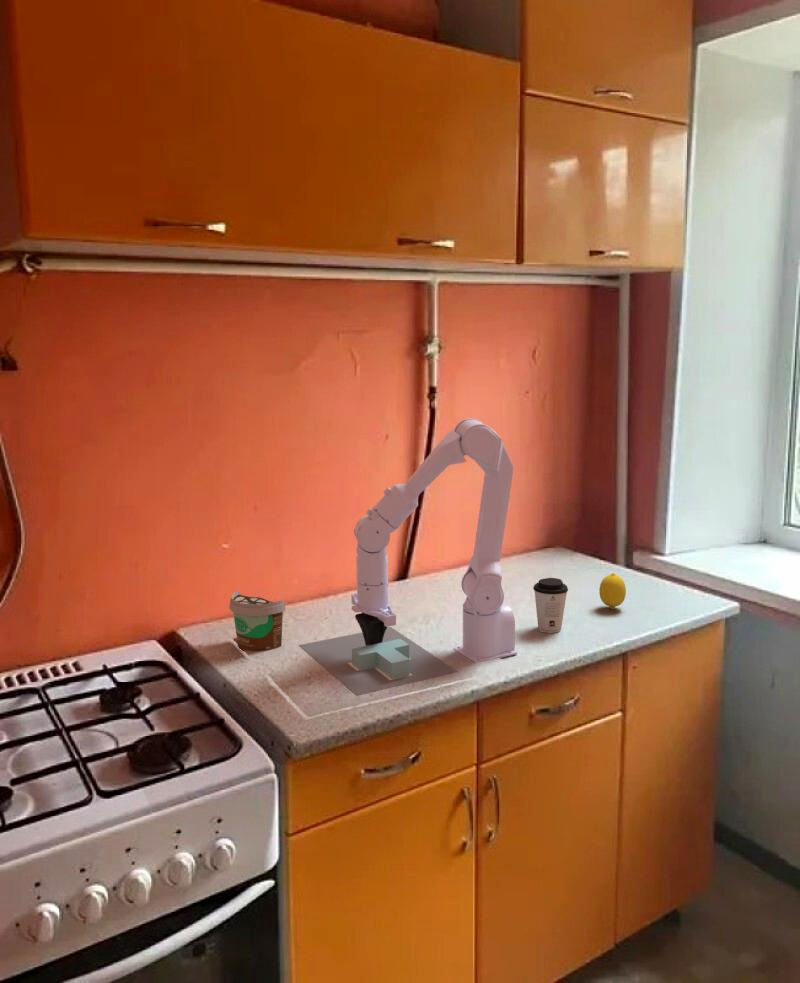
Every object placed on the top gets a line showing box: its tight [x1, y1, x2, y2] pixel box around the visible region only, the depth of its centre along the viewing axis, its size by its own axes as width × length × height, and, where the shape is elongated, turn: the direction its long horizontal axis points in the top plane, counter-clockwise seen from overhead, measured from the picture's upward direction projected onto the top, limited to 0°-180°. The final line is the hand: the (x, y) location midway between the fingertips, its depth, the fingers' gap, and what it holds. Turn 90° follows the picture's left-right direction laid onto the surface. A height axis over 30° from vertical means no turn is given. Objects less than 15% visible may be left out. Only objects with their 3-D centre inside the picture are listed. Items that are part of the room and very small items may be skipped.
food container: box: [228, 590, 286, 652], centre depth 170 cm, size 12×6×10 cm, turn 56°
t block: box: [352, 639, 410, 679], centre depth 160 cm, size 10×10×3 cm
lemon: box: [599, 572, 627, 610], centre depth 190 cm, size 6×6×8 cm
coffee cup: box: [532, 577, 569, 634], centre depth 179 cm, size 7×7×10 cm
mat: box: [298, 626, 458, 696], centre depth 165 cm, size 20×26×1 cm
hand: (373, 651), depth 165 cm, fingers closed
